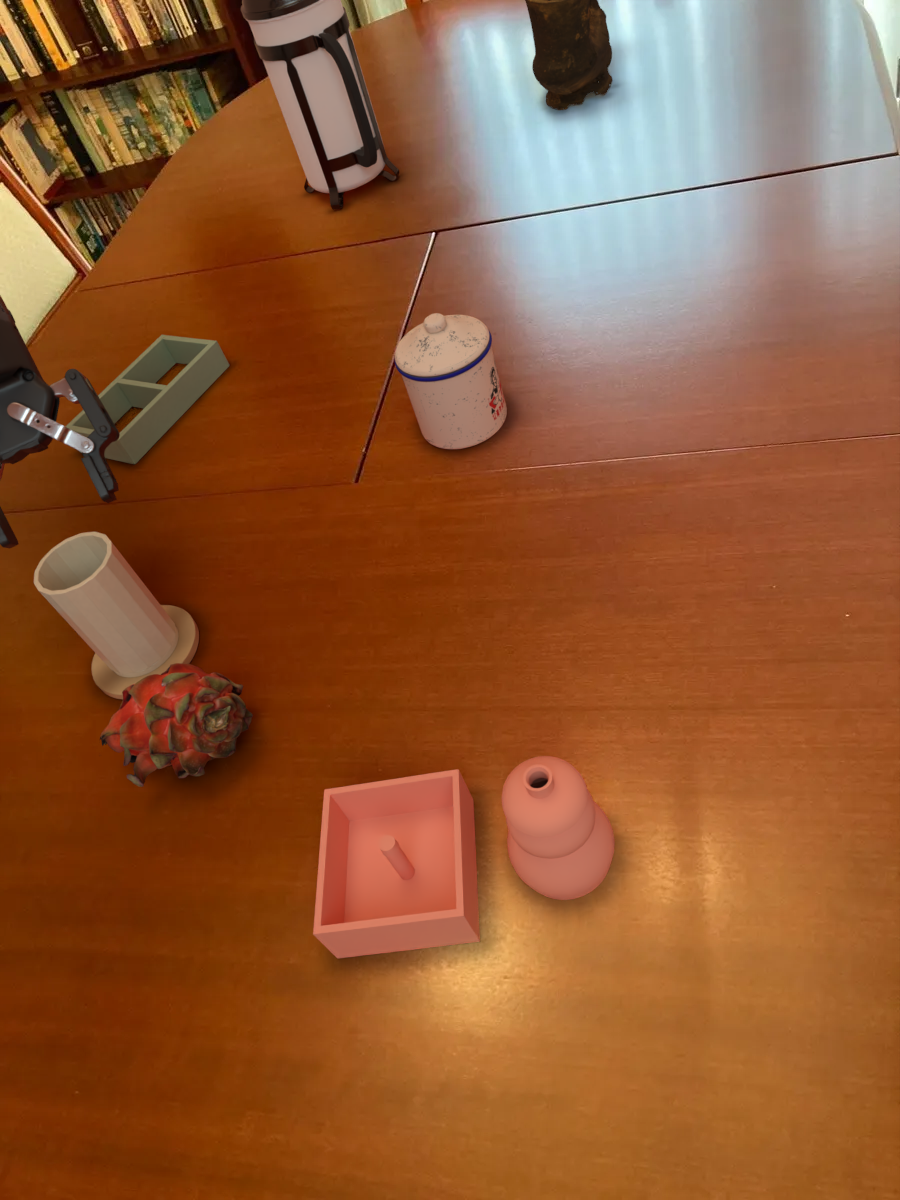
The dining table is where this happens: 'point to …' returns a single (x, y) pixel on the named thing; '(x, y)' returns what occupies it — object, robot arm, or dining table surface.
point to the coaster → (181, 654)
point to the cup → (107, 604)
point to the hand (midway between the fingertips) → (60, 523)
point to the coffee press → (320, 92)
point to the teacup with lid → (452, 380)
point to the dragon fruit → (177, 721)
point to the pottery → (447, 854)
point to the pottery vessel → (570, 49)
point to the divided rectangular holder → (156, 393)
